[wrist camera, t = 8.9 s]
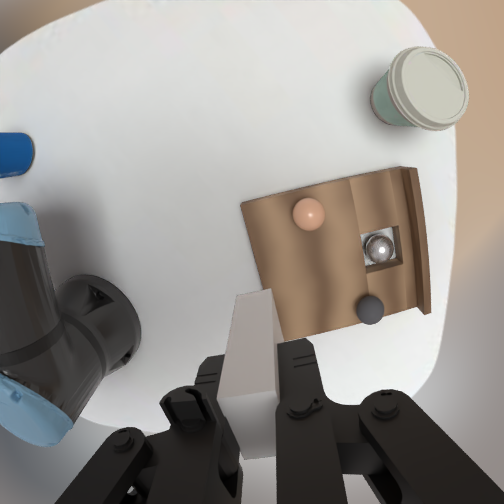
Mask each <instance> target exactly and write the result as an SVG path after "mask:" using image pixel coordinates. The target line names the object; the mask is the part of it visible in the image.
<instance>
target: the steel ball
mask: <svg viewBox="0 0 504 504" xmlns="http://www.w3.org/2000/svg"><path fill="white" fill-rule="evenodd" d="M393 250H394V247H393V243H392V241H391V240H390V239H389V238H388V237H387V236H385V235H382V234H377V235H374V236H372V237H371V238H370V239H369V240H368V242H367V244H366V253H367V256H368V257H369V259H370V260H372V261H373V262H375V263H384V262H386V261H388V260H389V259H390V258H391V256H392V254H393Z"/></svg>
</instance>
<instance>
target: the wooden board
mask: <svg viewBox="0 0 504 504" xmlns="http://www.w3.org/2000/svg"><path fill="white" fill-rule="evenodd" d="M304 198H313V199H316V200H318V201H319V202H320V203H321V204H322V205H323V207H324V209H325V220H324V222H323V224H322V225H321V226H320V227H319V228H318V229H316V230H313V231H306V230H303V229H301V228H299V227H298V226H297V225H296V224H295V222H294V220H293V209H294V207H295V205H296V204H297V203H298V202H299V201H300V200H302V199H304ZM240 206H241V210H242V213H243V217H244V221H245V224H246V228H247V231H248V235H249V239H250V242H251V246H252V250H253V253H254V257H255V261H256V264H257V268H258V272H259V275H260V279H261V283H262V286H263V290H265V289H270V288H271V290H272V294H273V298H274V302H275V306H276V310H277V314H278V319H279V323H280V327H281V331H282V335H283V339H284V342H285V341H289V340H294V339H298V338H303V337H307V336H311V335H316V334H320V333H324V332H328V331H332V330H336V329H340V328H344V327H348V326H352V325H355V324H359V323H363V322H361V321H360V320H359V318H358V317H357V313H356V308H357V305H358V303H359V301H360V300H361V299H362V298H364V297H366V296H375V297H378V298H379V299H380V300H381V301H382V302H383V304H384V315H383V317H384V316H388V315H391V314H395V313H398V312H401V311H405V310H408V309H411V308H414V307H418V308H419V310H420V311H421V312H422V313H423V314H424V315H426V314H429V313H431V289H430V270H429V256H428V244H427V234H426V225H425V217H424V210H423V202H422V196H421V189H420V183H419V177H418V172H417V168H412V167H402V166H399V167H394V168H389V169H384V170H379V171H374V172H369V173H365V174H360V175H355V176H351V177H346V178H341V179H337V180H332V181H328V182H324V183H319V184H315V185H311V186H306V187H302V188H298V189H294V190H290V191H285V192H281V193H277V194H273V195H269V196H265V197H261V198H257V199H253V200H249V201H246V202H242V203H241V205H240ZM388 227H392V229H393V236H394V244H395V251H396V258H395V259H391V260H388V261H386V262H384V263H376V264H372V265H368V266H365V261H364V255H363V249H362V243H361V237H360V234H364V233H368V232H372V231H376V230H380V229H384V228H388Z"/></svg>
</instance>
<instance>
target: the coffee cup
mask: <svg viewBox="0 0 504 504" xmlns="http://www.w3.org/2000/svg"><path fill="white" fill-rule="evenodd" d="M468 99H469V92H468V86H467V82H466V79H465V77H464V75H463V73H462V71H461V69H460V68H459V66H458V65H457V64H456V63H455V61H454V60H453V59H451V58H450V57H449V56H448V55H446V54H445V53H443V52H442V51H440V50H437V49H434V48H429V47H411V48H408V49H405V50H403V51H401V52H400V53H398V54H397V55H396V56H395V58H394V59H393V61H392V63H391V65H390V68H389V70H388V71H387V72H386V73H385V75H384V76H383V77H382V78H381V79H380V81H379V82H378V83H377V84H376V86H375V87H374V88H373V90H372V92H371V97H370V101H371V106H372V109H373V111H374V113H375V114H376V116H377V117H378V118H379V119H380V120H382V121H383V122H385V123H387V124H390V125H398V126H412V127H420V128H423V129H425V130H430V131H441V130H445V129H447V128H449V127H451V126H453V125H454V124H455V123H456V122H457V121H458V120H459V119H460V118H461V116H462V115H463V114H464V112H465V111H466V108H467V105H468Z"/></svg>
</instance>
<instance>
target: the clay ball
mask: <svg viewBox="0 0 504 504" xmlns="http://www.w3.org/2000/svg"><path fill="white" fill-rule="evenodd" d="M293 220H294V222H295V224H296V225H297V226H298V227H299V228H301V229H303V230H306V231H313V230H316V229H318V228H319V227H320V226H321V225H322V224H323V222H324V220H325V209H324V207H323V205H322V204H321V203H320V202H319V201H318V200H316V199H313V198H304V199H302V200H300V201H299V202H298V203H297V204H296V205H295V207H294V209H293Z"/></svg>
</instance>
